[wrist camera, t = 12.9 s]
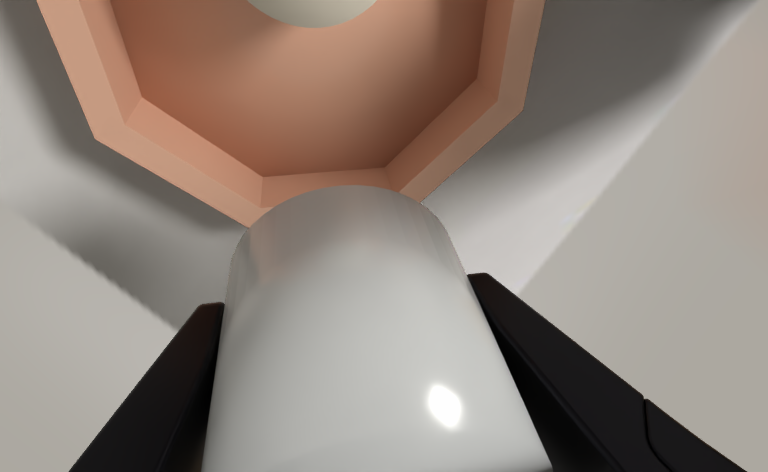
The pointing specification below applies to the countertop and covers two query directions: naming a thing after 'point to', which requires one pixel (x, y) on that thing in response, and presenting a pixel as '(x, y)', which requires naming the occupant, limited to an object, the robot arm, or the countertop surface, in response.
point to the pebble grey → (360, 348)
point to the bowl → (295, 92)
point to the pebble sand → (312, 11)
